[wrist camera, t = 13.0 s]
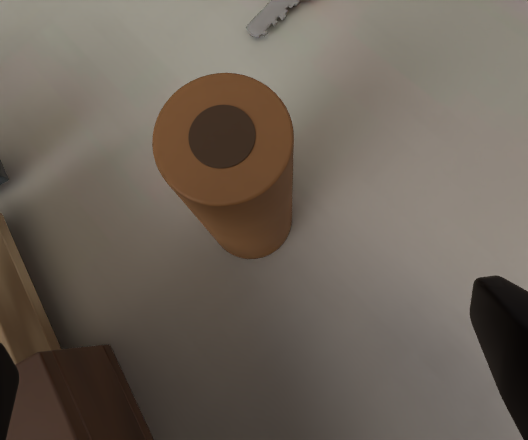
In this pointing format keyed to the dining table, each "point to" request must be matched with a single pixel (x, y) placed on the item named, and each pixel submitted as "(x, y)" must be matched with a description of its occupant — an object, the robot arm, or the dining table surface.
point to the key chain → (269, 16)
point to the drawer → (20, 302)
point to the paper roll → (230, 160)
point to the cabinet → (75, 398)
